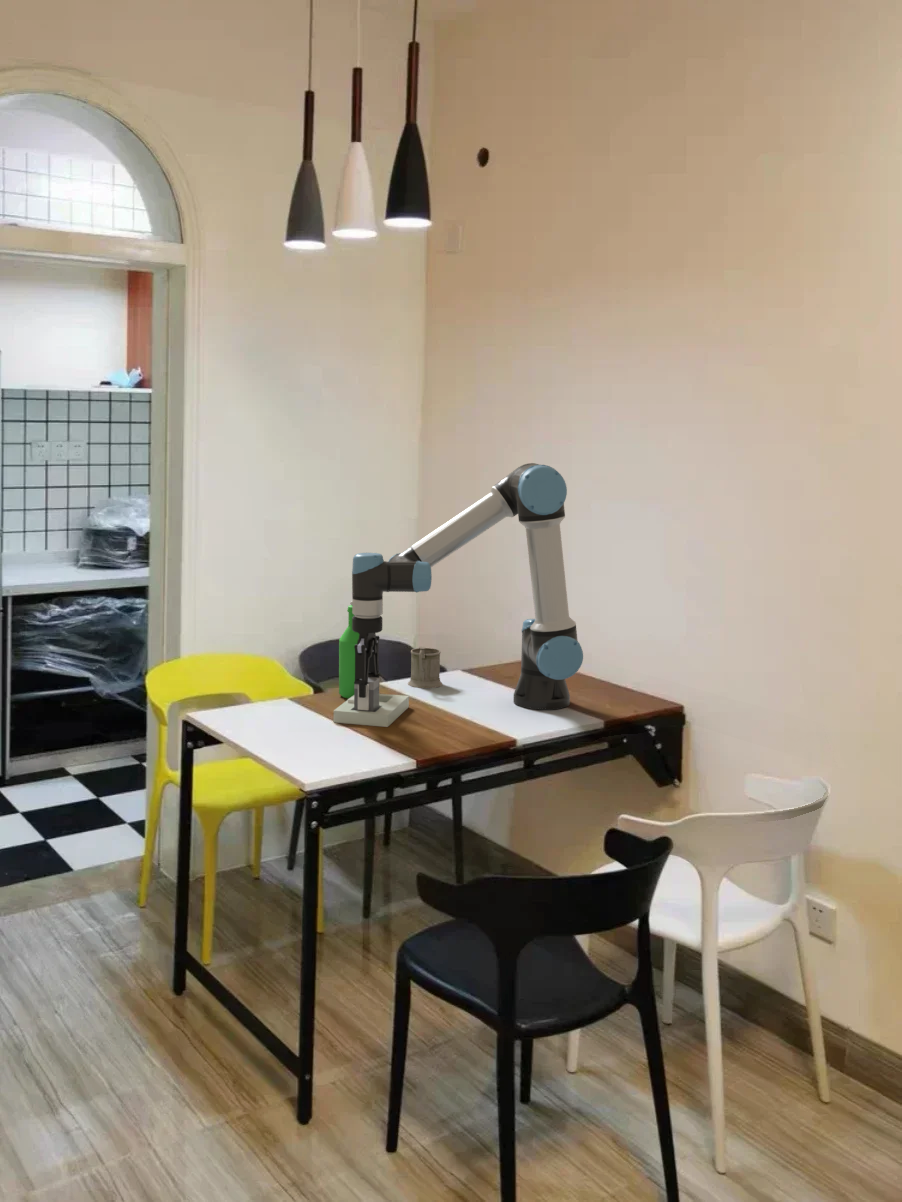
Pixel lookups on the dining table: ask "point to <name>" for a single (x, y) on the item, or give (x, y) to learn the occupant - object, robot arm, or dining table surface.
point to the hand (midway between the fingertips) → (366, 706)
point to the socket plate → (382, 717)
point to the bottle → (347, 658)
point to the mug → (425, 668)
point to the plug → (373, 695)
